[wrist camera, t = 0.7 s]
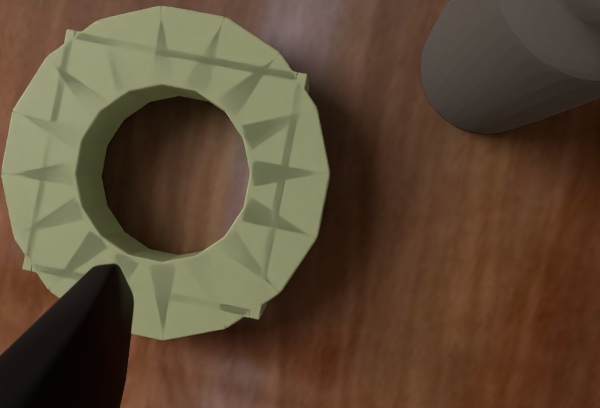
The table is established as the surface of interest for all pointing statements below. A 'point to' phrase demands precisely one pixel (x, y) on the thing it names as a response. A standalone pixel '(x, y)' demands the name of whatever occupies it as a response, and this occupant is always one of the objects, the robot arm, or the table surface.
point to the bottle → (511, 61)
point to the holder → (102, 127)
